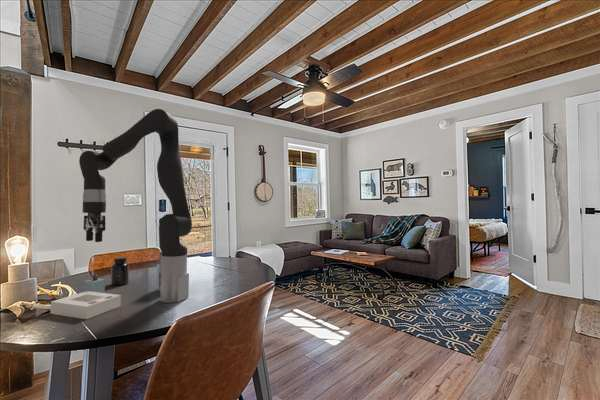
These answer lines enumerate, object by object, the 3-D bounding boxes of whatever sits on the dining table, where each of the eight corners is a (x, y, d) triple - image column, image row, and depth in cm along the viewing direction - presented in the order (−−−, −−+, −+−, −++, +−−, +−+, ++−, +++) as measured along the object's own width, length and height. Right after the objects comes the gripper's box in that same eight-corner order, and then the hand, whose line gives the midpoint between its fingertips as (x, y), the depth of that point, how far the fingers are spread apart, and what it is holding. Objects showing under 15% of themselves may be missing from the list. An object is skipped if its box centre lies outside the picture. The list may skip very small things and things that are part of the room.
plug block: (104, 296, 109) (105, 274, 109) (93, 300, 104) (93, 276, 105) (95, 295, 110) (96, 273, 110) (84, 299, 106) (85, 276, 106)
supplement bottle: (132, 282, 130) (132, 256, 130) (121, 286, 123) (121, 259, 123) (118, 281, 130) (119, 256, 131) (107, 285, 123) (107, 259, 124)
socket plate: (120, 306, 99) (120, 294, 99) (86, 319, 87) (87, 306, 87) (87, 301, 103) (87, 290, 103) (50, 313, 91) (50, 301, 91)
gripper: (113, 200, 110) (112, 241, 109) (97, 201, 118) (97, 239, 117) (90, 200, 104) (90, 243, 103) (76, 201, 112) (75, 241, 111)
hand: (93, 241), depth 110 cm, fingers open, 8 cm apart
